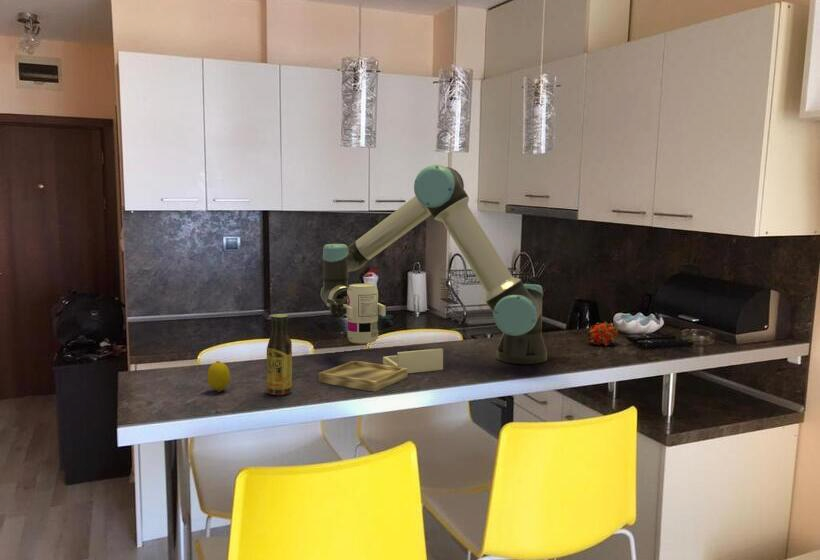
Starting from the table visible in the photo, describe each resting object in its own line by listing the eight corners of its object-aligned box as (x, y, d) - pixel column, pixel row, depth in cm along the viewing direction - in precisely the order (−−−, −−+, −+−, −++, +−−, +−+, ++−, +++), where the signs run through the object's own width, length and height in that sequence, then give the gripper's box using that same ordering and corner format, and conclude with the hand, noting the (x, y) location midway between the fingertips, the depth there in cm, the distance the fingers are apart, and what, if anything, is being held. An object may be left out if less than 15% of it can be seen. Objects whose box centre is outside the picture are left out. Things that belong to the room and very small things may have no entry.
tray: (407, 377, 181) (407, 368, 181) (374, 391, 167) (374, 382, 167) (353, 368, 190) (353, 360, 190) (318, 382, 176) (318, 372, 176)
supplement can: (343, 343, 174) (342, 286, 173) (353, 336, 182) (352, 282, 181) (372, 344, 173) (372, 287, 171) (381, 338, 180) (381, 283, 179)
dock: (424, 359, 201) (424, 339, 201) (442, 369, 189) (443, 349, 188) (382, 363, 197) (382, 343, 196) (398, 374, 184) (398, 353, 183)
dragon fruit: (620, 348, 223) (589, 356, 219) (607, 330, 228) (577, 337, 225) (628, 331, 217) (596, 339, 213) (614, 313, 222) (583, 320, 219)
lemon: (210, 389, 170) (209, 358, 169) (232, 388, 170) (231, 358, 169) (205, 395, 165) (204, 363, 164) (228, 394, 165) (227, 363, 164)
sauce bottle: (261, 394, 166) (259, 315, 163) (279, 388, 171) (277, 312, 168) (280, 398, 162) (278, 318, 160) (298, 392, 167) (296, 314, 165)
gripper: (378, 310, 197) (405, 323, 176) (309, 314, 190) (328, 329, 169) (378, 285, 196) (405, 295, 175) (308, 288, 189) (328, 299, 168)
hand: (368, 312), depth 172 cm, fingers closed on supplement can, 8 cm apart
